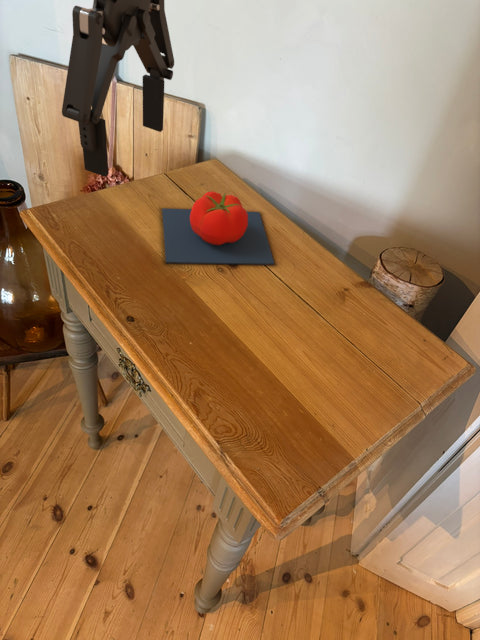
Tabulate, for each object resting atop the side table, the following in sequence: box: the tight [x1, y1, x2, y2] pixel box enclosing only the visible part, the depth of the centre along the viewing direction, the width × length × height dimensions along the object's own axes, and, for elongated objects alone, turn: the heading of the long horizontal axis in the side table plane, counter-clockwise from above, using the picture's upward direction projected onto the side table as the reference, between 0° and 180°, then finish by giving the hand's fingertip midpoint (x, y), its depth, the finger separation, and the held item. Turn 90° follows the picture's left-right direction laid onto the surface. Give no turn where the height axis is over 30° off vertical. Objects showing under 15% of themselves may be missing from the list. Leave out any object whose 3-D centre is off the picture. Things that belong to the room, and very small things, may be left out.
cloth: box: [161, 207, 275, 266], centre depth 89 cm, size 20×16×1 cm
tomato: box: [190, 190, 248, 245], centre depth 86 cm, size 11×11×8 cm
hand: (127, 148), depth 59 cm, fingers open, 13 cm apart
